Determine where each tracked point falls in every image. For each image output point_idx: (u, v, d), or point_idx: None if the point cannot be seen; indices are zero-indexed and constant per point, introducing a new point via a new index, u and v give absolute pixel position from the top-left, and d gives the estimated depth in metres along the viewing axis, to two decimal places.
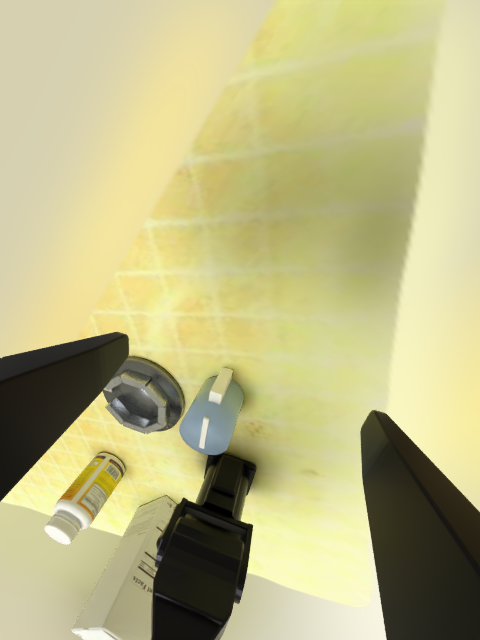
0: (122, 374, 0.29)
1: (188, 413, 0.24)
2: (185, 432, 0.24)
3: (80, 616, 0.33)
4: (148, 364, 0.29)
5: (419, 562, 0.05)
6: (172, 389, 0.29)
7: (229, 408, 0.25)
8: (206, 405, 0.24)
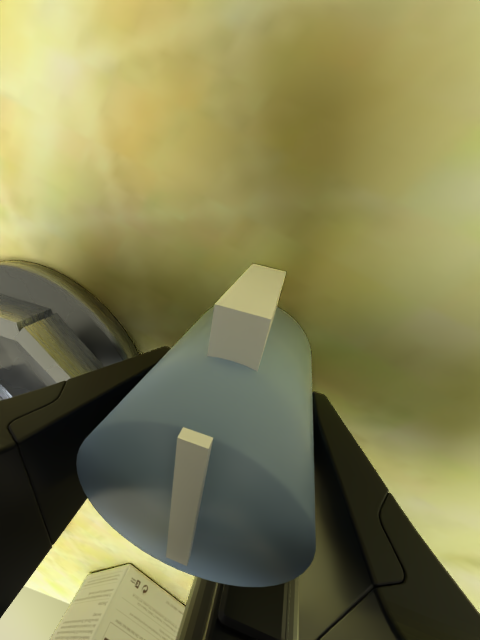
0: None
1: (115, 408, 0.05)
2: (105, 493, 0.05)
3: None
4: (39, 274, 0.10)
5: (322, 526, 0.05)
6: (107, 345, 0.11)
7: (293, 387, 0.06)
8: (198, 372, 0.05)
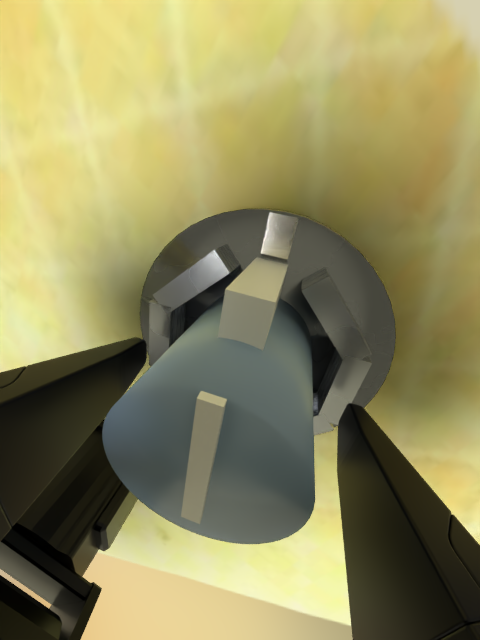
0: (367, 357, 0.09)
1: (136, 382, 0.06)
2: (127, 459, 0.06)
3: None
4: None
5: (380, 547, 0.05)
6: None
7: (294, 366, 0.07)
8: (210, 350, 0.06)
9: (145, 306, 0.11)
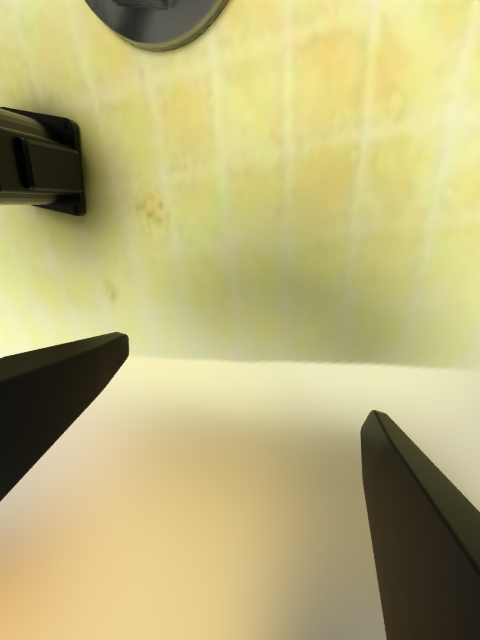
0: None
1: None
2: None
3: None
4: None
5: (419, 562, 0.05)
6: (195, 14, 0.14)
7: None
8: None
9: None
